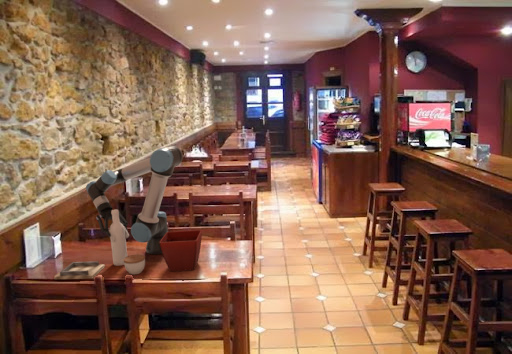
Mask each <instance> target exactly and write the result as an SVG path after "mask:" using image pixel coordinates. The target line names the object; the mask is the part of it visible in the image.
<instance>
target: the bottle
mask: <svg viewBox="0 0 512 354" xmlns="http://www.w3.org/2000/svg"><path fill="white" fill-rule="evenodd" d="M118 210H119V209H117V208H116V209H113V210H112V211H111V214H112V223H111V224H110V225H109V230H111V232H112V234H113V236H114V237H115V241H114V242H112V240H111V238H110V237H109V238H110V246H111V255H112V262H113V264H112V265H114V266H116V267H117V266H124V260H123V259H124V258H125V257H127V256H128V251H127V250H128V249H127V240H126V239H127V238H126V236H125V229H124V226H123V224H122V223H120V221H119V211H120V210H119V211H118Z"/></svg>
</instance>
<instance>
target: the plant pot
mask: <svg viewBox="0 0 512 354" xmlns="http://www.w3.org/2000/svg"><path fill="white" fill-rule="evenodd" d="M202 235H203V230H201V229H200V230H199V229H197V230H194V229H193V230H177V231H168V232H167V233H166V234H165V235H164V237H163V238H162V239H161V241H160V242H159V243H160V247H161V251H162V254H161V255H162V256H163V259H164V261H165V264H166V266H167V268H168V271H169V272H181V271H182V272H183V271H185V272H186V271H194V270H195V269H196V267H197V265H198V262H199V259H200V258H199V257H200V255H201V254H200V253H201V245H202V237H203V236H202Z"/></svg>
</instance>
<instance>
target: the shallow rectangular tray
mask: <svg viewBox="0 0 512 354" xmlns="http://www.w3.org/2000/svg"><path fill="white" fill-rule="evenodd" d="M99 263H100V262H99V261H72V262H71V263H70V264H68V265H67V266H65V268H63V269H62V270H61V271H59V272H58V273H57V274H56V275H54V276H53V277H54V280H80V279H81V280H83V279H84V280H85V279H94V278H95V277H96V276H97V275H99V273H100V272H101V271H102V270H103V269H104V268H105V267H106V265H105V264H103V263H100V264H99Z"/></svg>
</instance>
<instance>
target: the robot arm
mask: <svg viewBox="0 0 512 354" xmlns="http://www.w3.org/2000/svg"><path fill="white" fill-rule="evenodd" d="M183 157H184V154H183V151H182V150H181V149H180V148H179V147H177V146H176V145H168V146H166V147H161V148H158V149H156V150H154V151H153V152H152V153H151V155H150V157H148V158H145V159H143V160H140V161H138V162H135V163H132V164H130V165H127V166H125V167H122V168H119V169H116V170H110V169H107V170H105V171H104V172H103V173H102V174H101V175H100V176H99V178H98V179H97V180H92V181H90V182H89V183H87V184H86V185H85V190H86V192H87V195H88V196H89V198H90V199H91V200H92V203H93V204H94V206H95V209H96V210H97V212H98V214H97V215H96V217H95V220H96V221H97V223H98V226H99V229H100V231H101V233H105V234H106V236H107V237H108V238H111V239H110V241H111V240H112V242H114V241H115V237H114V236H113V234H112V232H111V230H110V229H109V221H111V220H112V214H111V211H112V210H114V209H113V206H112V205H111V203H110V201H109V199H108V197H107V196H106V194H105V193H106V192H107V191H108V189H110V187H112V186H116V185H118V184H121V183H125V182H127V181H129V180H131V179H134V178H137V177H139V176H143V175H146V174H148V173H152V174H151V178H150V181H149V184H148V188H147V192H146V195H145V200H144V203H143V207H142V210H141V212H140V213H139V214H138V215H137V218H136V221H135V223H133V224H132V226H131V227H130V233H131V236H132V237H133V239H134V240H135V241H136V242H138V243H146V247H145V252H146V253H147V254H149V255H163V254H162V251H161V247H160V243H159V242H160V241H161V239H162V238H163V237H164V235H165V234H166V233H167V232H169V229H168V217H167V213H166V212H165V211H160V207H161V204H162V200H163V197H164V194H165V190H166V186H167V184H168V180H169V178H171V177H172V176H173V173H174V170H175V167H178V166H179V165H180V164H181V163H182V162H183V159H184V158H183ZM118 211H119V221H120V223H122V224H123V226H124V229H125V238H126V239H129V237H130V234H129V232H128V231H129V229H128V227H127V226H128V224H129V223H128V220H127V219H125V217H124V216H123V215H122V214H121V210H119V209H118ZM103 222H104V223H103Z"/></svg>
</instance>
